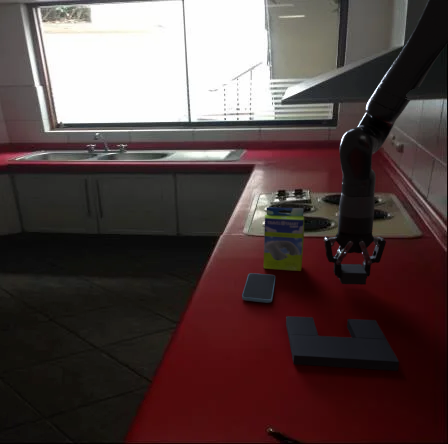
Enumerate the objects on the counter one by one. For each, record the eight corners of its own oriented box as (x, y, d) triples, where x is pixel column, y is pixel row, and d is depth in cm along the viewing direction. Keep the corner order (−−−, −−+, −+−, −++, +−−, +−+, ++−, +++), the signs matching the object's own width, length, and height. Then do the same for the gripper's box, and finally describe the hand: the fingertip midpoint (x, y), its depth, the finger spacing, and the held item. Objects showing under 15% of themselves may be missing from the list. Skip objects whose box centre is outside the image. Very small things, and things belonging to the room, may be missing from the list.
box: (263, 269, 119) (264, 211, 113) (264, 263, 122) (265, 206, 117) (302, 272, 115) (305, 212, 110) (302, 266, 119) (304, 207, 114)
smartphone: (275, 275, 112) (272, 300, 99) (275, 278, 113) (271, 304, 99) (248, 272, 115) (241, 297, 101) (248, 276, 115) (241, 301, 101)
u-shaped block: (374, 328, 88) (375, 319, 87) (398, 371, 75) (399, 361, 74) (285, 324, 91) (286, 316, 91) (293, 364, 78) (294, 355, 78)
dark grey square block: (359, 274, 106) (360, 264, 105) (365, 284, 101) (366, 273, 100) (336, 274, 107) (337, 263, 106) (341, 284, 102) (342, 272, 101)
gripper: (327, 217, 97) (323, 283, 102) (394, 216, 94) (387, 284, 99) (321, 208, 104) (318, 270, 109) (384, 207, 101) (377, 271, 106)
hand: (351, 276), depth 104 cm, fingers closed on dark grey square block, 5 cm apart
